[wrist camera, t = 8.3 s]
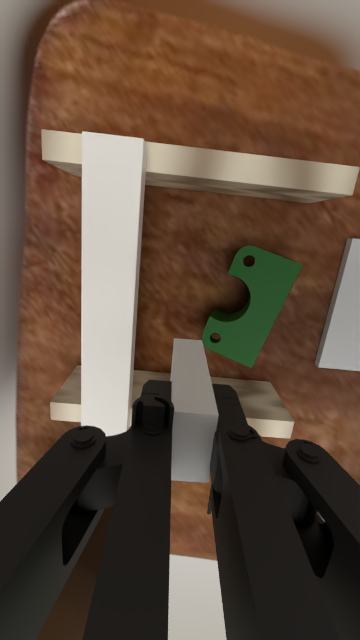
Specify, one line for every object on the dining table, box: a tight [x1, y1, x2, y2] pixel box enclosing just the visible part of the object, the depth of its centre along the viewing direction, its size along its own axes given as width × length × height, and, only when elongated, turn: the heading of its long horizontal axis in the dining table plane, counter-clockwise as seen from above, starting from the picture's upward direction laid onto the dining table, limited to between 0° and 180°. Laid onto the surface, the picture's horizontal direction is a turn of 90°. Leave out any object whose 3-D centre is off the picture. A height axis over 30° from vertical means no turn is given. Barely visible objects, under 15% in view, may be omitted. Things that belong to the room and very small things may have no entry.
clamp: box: [202, 246, 303, 368], centre depth 31 cm, size 12×6×9 cm, turn 153°
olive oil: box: [35, 506, 113, 640], centre depth 28 cm, size 11×11×25 cm
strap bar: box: [81, 131, 147, 436], centre depth 24 cm, size 4×24×2 cm, turn 174°
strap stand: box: [41, 129, 360, 439], centre depth 30 cm, size 24×25×8 cm
